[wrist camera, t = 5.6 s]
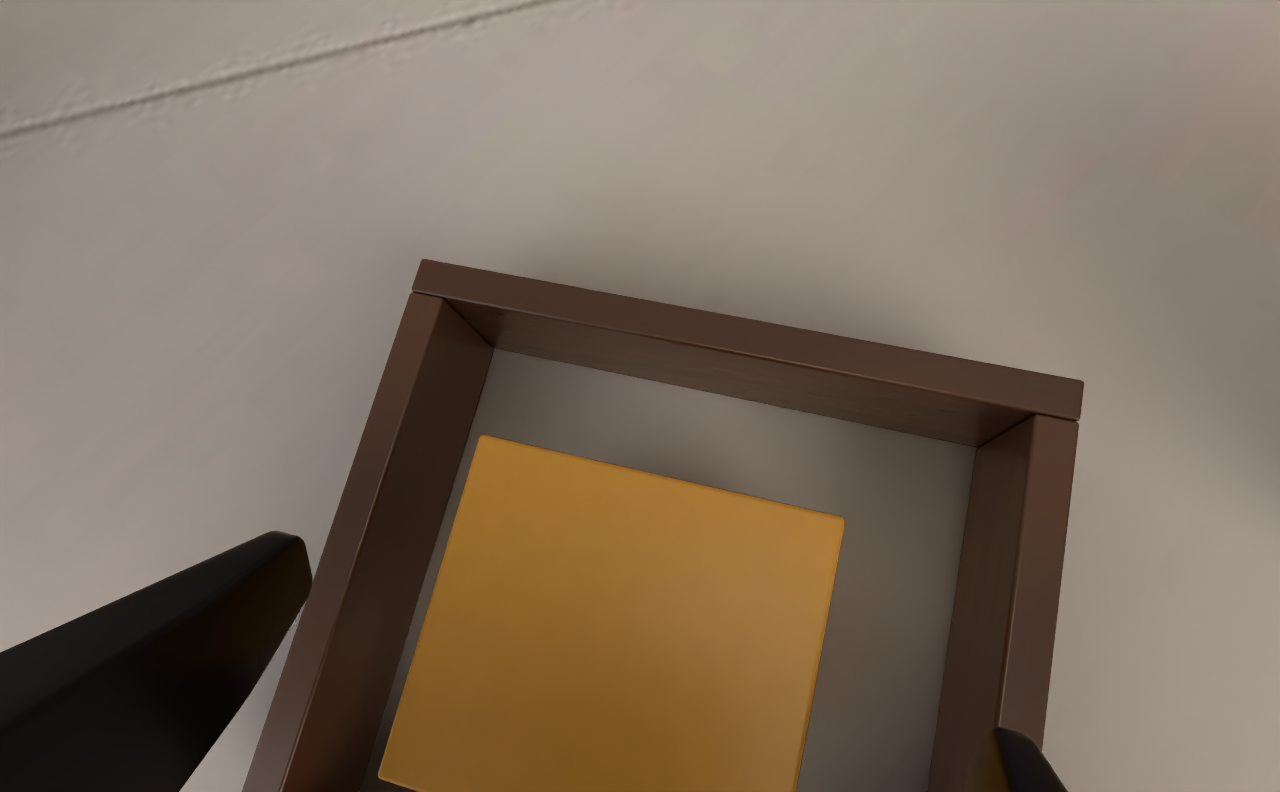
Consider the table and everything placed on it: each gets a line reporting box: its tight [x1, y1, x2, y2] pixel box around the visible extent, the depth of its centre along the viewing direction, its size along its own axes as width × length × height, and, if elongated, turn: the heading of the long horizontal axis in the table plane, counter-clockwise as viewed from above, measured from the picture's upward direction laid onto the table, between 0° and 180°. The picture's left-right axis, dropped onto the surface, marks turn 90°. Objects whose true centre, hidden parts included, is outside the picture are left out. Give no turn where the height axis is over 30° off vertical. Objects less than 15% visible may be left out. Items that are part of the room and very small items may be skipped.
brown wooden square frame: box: [242, 259, 1084, 792], centre depth 15 cm, size 13×14×4 cm
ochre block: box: [378, 435, 845, 792], centre depth 13 cm, size 4×5×8 cm
